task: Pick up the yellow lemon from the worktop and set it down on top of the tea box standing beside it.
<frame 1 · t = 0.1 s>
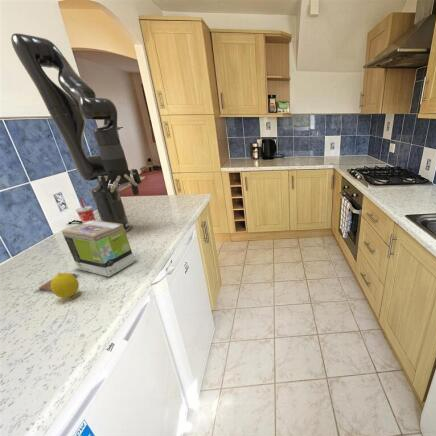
hand: (126, 197, 97), 17 cm above the countertop, tool pointing down, fingers open, 8 cm apart
tea box: (107, 265, 84), on the countertop
beverage cup: (90, 226, 115), on the countertop
lemon: (70, 297, 69), on the countertop
tea sachet: (59, 282, 75), on the countertop
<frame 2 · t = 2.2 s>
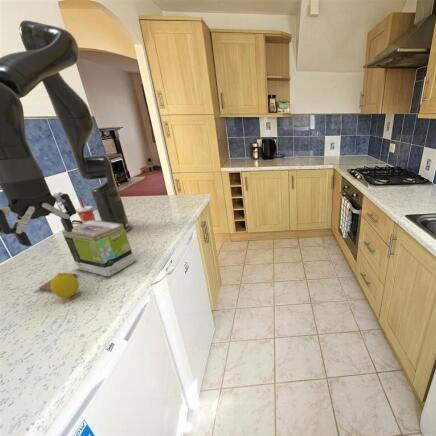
hand: (49, 238, 63), 18 cm above the countertop, tool pointing down, fingers open, 8 cm apart
nothing on the countertop moved.
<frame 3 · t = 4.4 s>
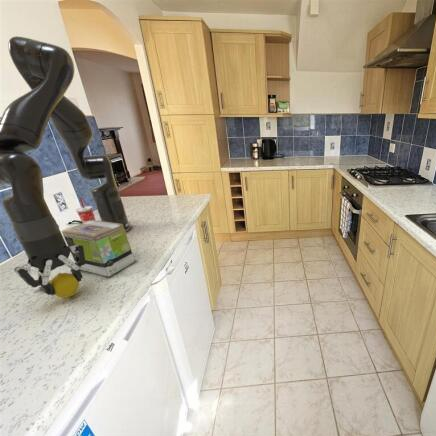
hand: (65, 287, 68), 4 cm above the countertop, tool pointing down, fingers closed on lemon, 5 cm apart
lemon: (70, 297, 69), on the countertop, touching gripper
everything else where it was.
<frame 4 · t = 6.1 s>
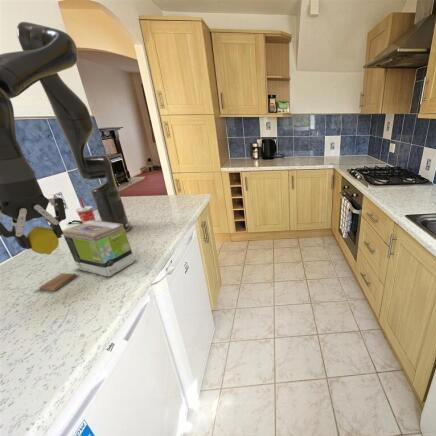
hand: (43, 242, 62), 18 cm above the countertop, tool pointing down, fingers closed on lemon, 5 cm apart
lemon: (49, 254, 64), point 14 cm above the countertop, touching gripper
everything else where it was.
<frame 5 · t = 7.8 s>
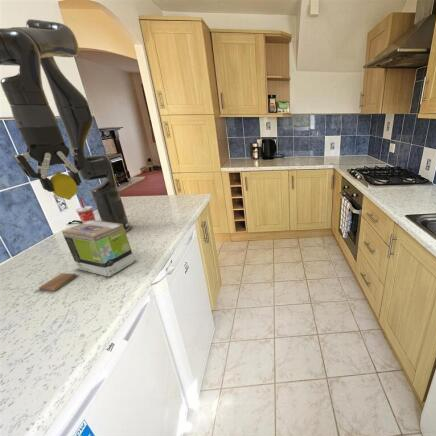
hand: (64, 188, 69), 29 cm above the countertop, tool pointing down, fingers closed on lemon, 5 cm apart
lemon: (69, 200, 70), point 25 cm above the countertop, touching gripper
everything else where it was.
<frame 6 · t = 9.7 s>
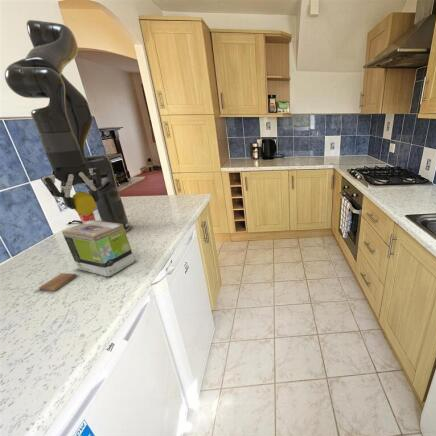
hand: (84, 205, 75), 22 cm above the countertop, tool pointing down, fingers closed on lemon, 5 cm apart
lemon: (88, 216, 76), point 18 cm above the countertop, touching gripper
everything else where it was.
when the fingers open (18 cm above the countertop, at t = 11.2 s): lemon stays where it is, resting on tea box.
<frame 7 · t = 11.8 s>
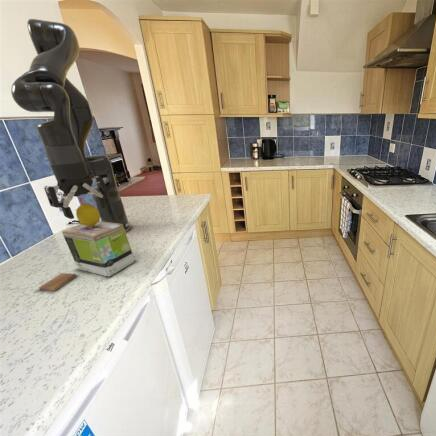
hand: (87, 213, 76), 19 cm above the countertop, tool pointing down, fingers open, 8 cm apart
tea box: (107, 265, 84), on the countertop, touching lemon
lemon: (93, 227, 78), point 15 cm above the countertop, touching tea box
everything else where it was.
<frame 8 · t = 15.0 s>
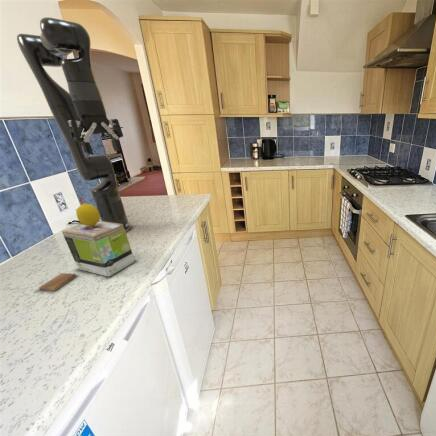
hand: (104, 152, 82), 36 cm above the countertop, tool pointing down, fingers open, 8 cm apart
nothing on the countertop moved.
at the end: lemon inside the target area on the tea box (0.1 cm from its centre), point 14.8 cm above the tea box's base; the gripper is holding nothing; tea box moved 0.2 cm from its start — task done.
